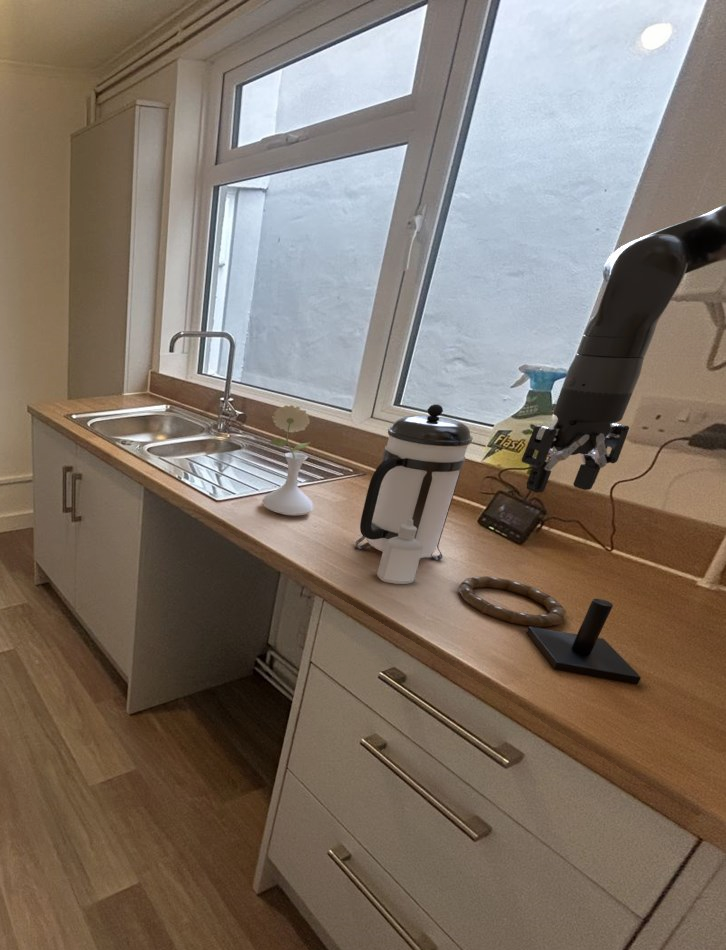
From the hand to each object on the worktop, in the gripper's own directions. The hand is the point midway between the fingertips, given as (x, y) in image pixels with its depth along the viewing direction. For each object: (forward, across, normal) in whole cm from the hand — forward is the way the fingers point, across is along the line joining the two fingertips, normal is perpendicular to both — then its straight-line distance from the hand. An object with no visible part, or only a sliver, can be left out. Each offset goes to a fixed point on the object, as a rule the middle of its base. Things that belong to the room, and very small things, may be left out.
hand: (558, 489), depth 84 cm
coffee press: (+20, -10, +16) cm, 28 cm away
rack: (+20, -7, -16) cm, 26 cm away
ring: (+19, -5, -2) cm, 19 cm away
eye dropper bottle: (+20, -17, +8) cm, 27 cm away
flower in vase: (+20, -20, +42) cm, 50 cm away
